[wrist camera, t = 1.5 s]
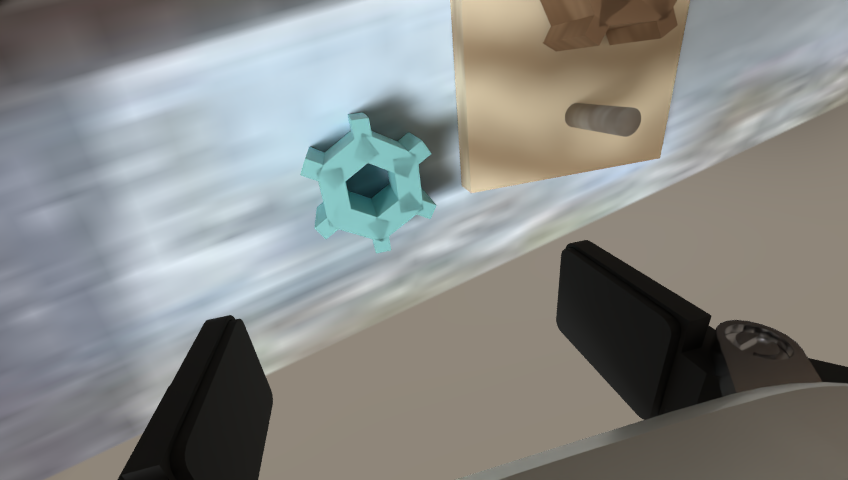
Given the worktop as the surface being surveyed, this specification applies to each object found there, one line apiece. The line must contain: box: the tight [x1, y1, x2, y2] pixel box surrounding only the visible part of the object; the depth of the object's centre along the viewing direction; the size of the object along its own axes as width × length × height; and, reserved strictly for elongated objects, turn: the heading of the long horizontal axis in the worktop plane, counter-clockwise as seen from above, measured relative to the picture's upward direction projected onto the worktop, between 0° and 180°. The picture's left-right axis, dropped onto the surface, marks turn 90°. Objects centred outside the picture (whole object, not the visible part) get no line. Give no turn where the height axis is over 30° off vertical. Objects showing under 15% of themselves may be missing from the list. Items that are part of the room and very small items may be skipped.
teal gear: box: [300, 112, 436, 253], centre depth 23 cm, size 8×8×4 cm
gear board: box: [450, 0, 690, 193], centre depth 21 cm, size 17×16×7 cm
